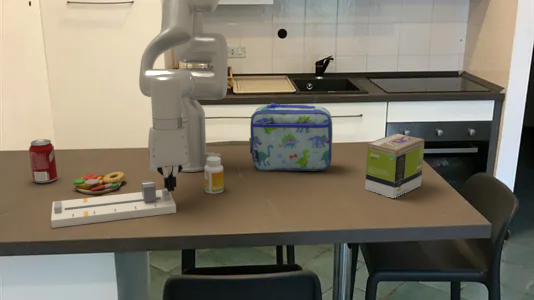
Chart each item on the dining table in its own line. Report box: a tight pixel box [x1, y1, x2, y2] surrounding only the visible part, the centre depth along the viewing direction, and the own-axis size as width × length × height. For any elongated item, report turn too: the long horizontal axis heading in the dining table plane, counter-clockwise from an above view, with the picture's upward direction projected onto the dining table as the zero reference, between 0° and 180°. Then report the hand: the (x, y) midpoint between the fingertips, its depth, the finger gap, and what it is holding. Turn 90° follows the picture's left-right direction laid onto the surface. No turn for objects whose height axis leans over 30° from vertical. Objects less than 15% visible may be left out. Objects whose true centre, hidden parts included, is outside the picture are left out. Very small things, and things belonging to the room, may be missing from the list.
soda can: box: [28, 138, 58, 184], centre depth 158 cm, size 7×7×12 cm
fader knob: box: [140, 179, 157, 202], centre depth 141 cm, size 3×5×4 cm, turn 19°
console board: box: [50, 188, 177, 229], centre depth 139 cm, size 30×12×4 cm, turn 109°
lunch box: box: [249, 102, 333, 172], centre depth 170 cm, size 26×11×21 cm, turn 84°
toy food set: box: [72, 171, 126, 195], centre depth 155 cm, size 13×13×3 cm
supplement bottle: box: [203, 157, 225, 195], centre depth 152 cm, size 5×5×10 cm
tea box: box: [364, 132, 425, 199], centre depth 155 cm, size 15×10×15 cm, turn 134°
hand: (170, 189), depth 143 cm, fingers closed
